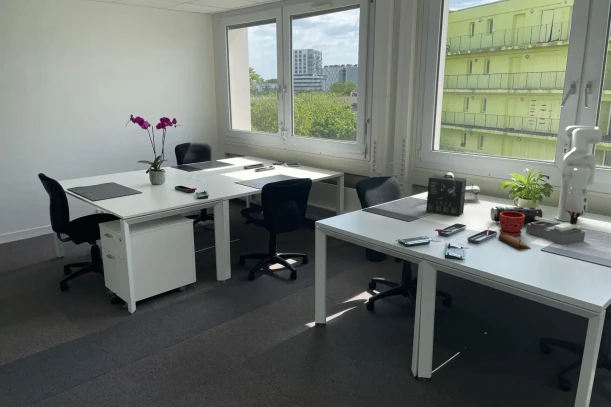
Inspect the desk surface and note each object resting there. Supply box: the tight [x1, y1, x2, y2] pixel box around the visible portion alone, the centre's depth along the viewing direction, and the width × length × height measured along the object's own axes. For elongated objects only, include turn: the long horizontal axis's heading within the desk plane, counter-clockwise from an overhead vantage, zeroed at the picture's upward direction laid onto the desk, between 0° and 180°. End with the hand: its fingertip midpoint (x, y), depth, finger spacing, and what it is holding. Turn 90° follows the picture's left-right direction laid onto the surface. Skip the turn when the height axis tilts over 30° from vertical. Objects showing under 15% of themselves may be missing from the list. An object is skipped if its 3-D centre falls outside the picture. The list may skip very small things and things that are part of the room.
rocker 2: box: [554, 222, 579, 231], centre depth 246 cm, size 12×5×2 cm, turn 111°
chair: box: [446, 172, 481, 203], centre depth 340 cm, size 13×25×20 cm, turn 71°
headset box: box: [425, 173, 467, 218], centre depth 302 cm, size 22×12×26 cm, turn 58°
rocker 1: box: [535, 216, 558, 224], centre depth 258 cm, size 12×5×2 cm, turn 112°
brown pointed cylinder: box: [498, 233, 532, 251], centre depth 241 cm, size 18×7×7 cm
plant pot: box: [498, 211, 525, 237], centre depth 257 cm, size 13×13×12 cm
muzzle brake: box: [490, 206, 543, 224], centre depth 279 cm, size 10×28×10 cm, turn 85°
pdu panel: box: [525, 221, 586, 246], centre depth 255 cm, size 16×28×6 cm, turn 21°
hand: (573, 223), depth 248 cm, fingers closed
